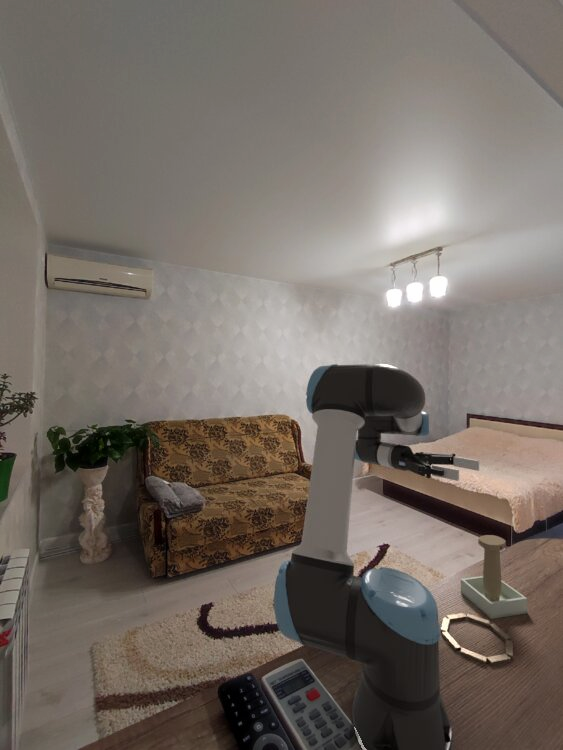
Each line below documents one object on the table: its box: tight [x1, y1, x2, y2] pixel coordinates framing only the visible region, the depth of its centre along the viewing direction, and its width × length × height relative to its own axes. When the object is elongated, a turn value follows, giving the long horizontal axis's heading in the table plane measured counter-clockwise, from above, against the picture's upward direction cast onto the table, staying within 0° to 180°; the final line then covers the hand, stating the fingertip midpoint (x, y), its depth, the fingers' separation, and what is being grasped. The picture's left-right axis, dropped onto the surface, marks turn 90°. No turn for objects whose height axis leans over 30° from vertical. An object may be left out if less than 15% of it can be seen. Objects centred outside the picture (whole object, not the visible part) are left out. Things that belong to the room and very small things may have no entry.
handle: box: [477, 534, 507, 602], centre depth 85 cm, size 5×6×15 cm
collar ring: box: [440, 612, 514, 667], centre depth 73 cm, size 13×13×1 cm
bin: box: [460, 575, 528, 620], centre depth 85 cm, size 10×10×4 cm
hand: (469, 470), depth 89 cm, fingers open, 13 cm apart
